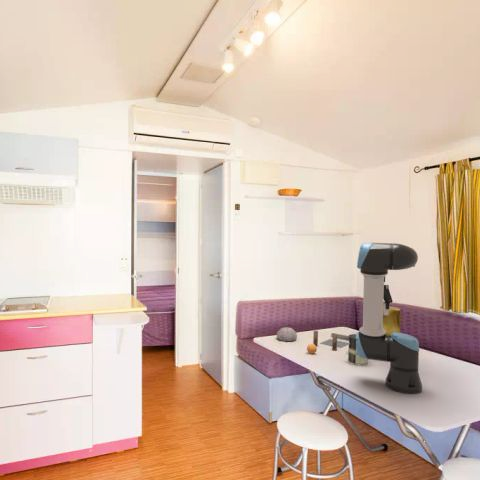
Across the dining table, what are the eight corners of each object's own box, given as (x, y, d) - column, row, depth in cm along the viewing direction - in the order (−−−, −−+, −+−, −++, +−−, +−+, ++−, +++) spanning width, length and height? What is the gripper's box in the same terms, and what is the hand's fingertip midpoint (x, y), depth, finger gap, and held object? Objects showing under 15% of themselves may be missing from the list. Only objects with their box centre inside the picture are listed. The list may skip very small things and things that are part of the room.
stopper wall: (357, 342, 248) (357, 338, 248) (331, 337, 259) (331, 333, 259) (358, 341, 249) (358, 337, 249) (332, 336, 261) (332, 332, 261)
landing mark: (340, 347, 234) (340, 347, 234) (319, 343, 243) (319, 343, 243) (350, 343, 244) (350, 343, 244) (329, 339, 253) (329, 339, 253)
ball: (313, 355, 216) (313, 345, 216) (305, 353, 220) (305, 343, 220) (318, 353, 221) (318, 343, 221) (309, 351, 224) (310, 342, 224)
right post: (335, 351, 227) (336, 335, 227) (331, 350, 229) (331, 334, 228) (337, 350, 229) (337, 334, 229) (333, 349, 231) (333, 334, 230)
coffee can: (345, 363, 204) (346, 336, 204) (350, 358, 213) (351, 333, 213) (365, 367, 199) (366, 339, 199) (369, 362, 208) (370, 335, 208)
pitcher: (366, 341, 248) (370, 303, 247) (396, 344, 247) (399, 305, 246) (374, 350, 231) (378, 309, 230) (406, 353, 230) (410, 311, 229)
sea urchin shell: (276, 342, 244) (276, 329, 244) (276, 336, 257) (276, 324, 257) (297, 343, 243) (298, 330, 243) (296, 337, 256) (296, 325, 256)
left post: (316, 346, 235) (316, 331, 235) (312, 345, 237) (312, 331, 236) (318, 345, 237) (318, 331, 237) (314, 345, 239) (314, 330, 238)
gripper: (400, 277, 207) (399, 316, 207) (368, 272, 230) (367, 308, 230) (389, 277, 204) (388, 317, 204) (358, 273, 227) (357, 309, 227)
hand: (377, 312), depth 217 cm, fingers open, 13 cm apart
